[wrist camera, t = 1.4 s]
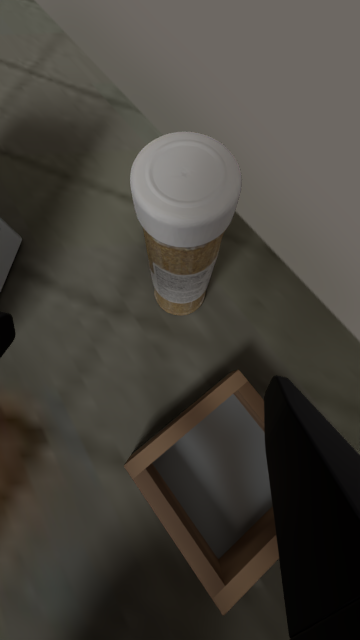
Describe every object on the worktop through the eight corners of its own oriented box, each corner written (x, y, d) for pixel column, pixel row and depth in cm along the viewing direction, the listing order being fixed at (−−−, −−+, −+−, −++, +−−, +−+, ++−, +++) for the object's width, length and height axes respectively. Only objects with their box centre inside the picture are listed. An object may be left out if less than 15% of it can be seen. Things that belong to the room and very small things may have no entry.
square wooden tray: (215, 580, 18) (223, 615, 15) (131, 454, 20) (123, 465, 17) (317, 478, 20) (341, 493, 17) (230, 372, 22) (238, 369, 19)
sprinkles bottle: (165, 262, 24) (154, 112, 11) (212, 279, 24) (258, 144, 11) (146, 307, 23) (108, 198, 10) (195, 325, 22) (223, 238, 9)
